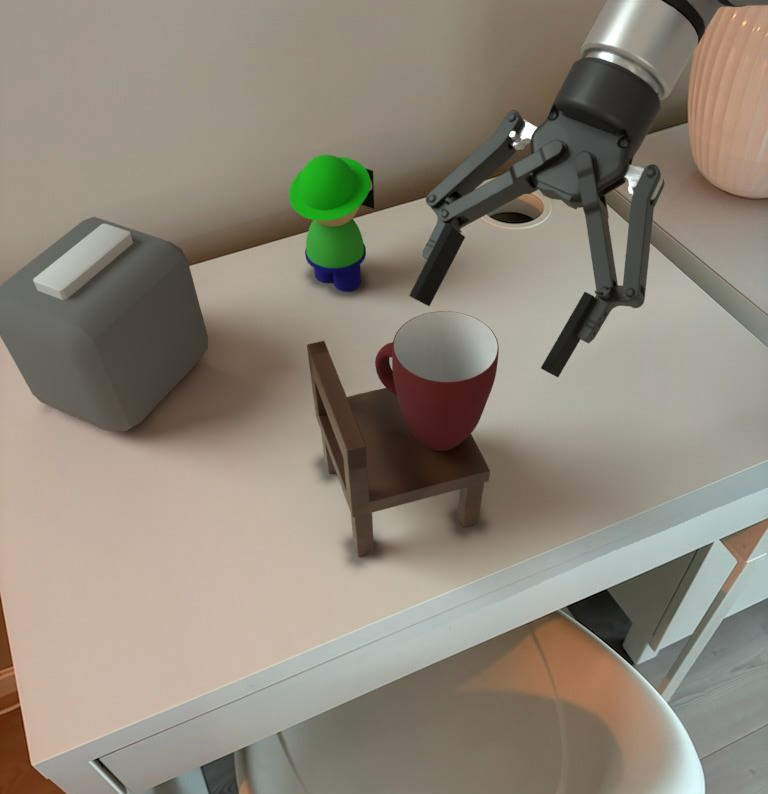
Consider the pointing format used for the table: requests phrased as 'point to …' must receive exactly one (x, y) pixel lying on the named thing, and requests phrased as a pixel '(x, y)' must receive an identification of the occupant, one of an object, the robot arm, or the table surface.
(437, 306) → the table surface
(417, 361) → the mug
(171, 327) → the alarm clock
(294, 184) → the toy
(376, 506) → the chair
